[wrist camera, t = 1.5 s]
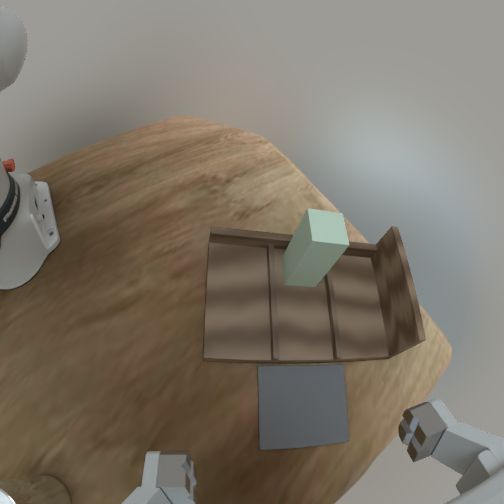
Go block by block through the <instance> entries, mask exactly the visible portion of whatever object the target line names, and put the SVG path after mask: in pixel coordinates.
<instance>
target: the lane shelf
mask: <svg viewBox="0 0 504 504" xmlns="http://www.w3.org/2000/svg"><path fill="white" fill-rule="evenodd" d="M293 236H294V235H288V234H278V233H269V232H259V231H249V230H239V229H229V228H219V227H211V232H210V239H209V248H208V264H207V280H206V299H205V320H204V345H203V361H215V362H237V363H328V362H350V361H366V360H380V359H389V358H391V357H393V356H395V355H397V354H399V353H401V352H403V351H405V350H407V349H409V348H411V347H413V346H415V345H417V344H419V343H421V342H423V341H425V340H426V338H425V333H424V328H423V323H422V318H421V313H420V309H419V304H418V300H417V296H416V292H415V287H414V283H413V279H412V276H411V272H410V268H409V264H408V261H407V257H406V253H405V250H404V247H403V243H402V240H401V237H400V233H399V230H398V227H393V226H392V227H391V228H390V229H389V230H388V231H387V233H386V234H385V235H384V236H383V237H382V238H381V239H380V241H379V242H378V243H377V244H376V245H375V244H367V243H358V242H350V241H349V246H348V247H347V249H346V250H345V251H344V253H343V254H342V255H341V256H340V258H339V259H338V260H337V261H336V263H335V264H334V265H333V266H332V267H331V269H330V270H329V271H328V272H327V274H326V275H325V276H324V277H323V279H322V280H321V281H320V282H319V283H318V285H317V286H316V287H308V286H292V285H285V284H284V270H283V257H282V256H283V254H284V253H285V251H286V249H287V247H288V245H289V243H290V241H291V239H292V237H293Z"/></svg>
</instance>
